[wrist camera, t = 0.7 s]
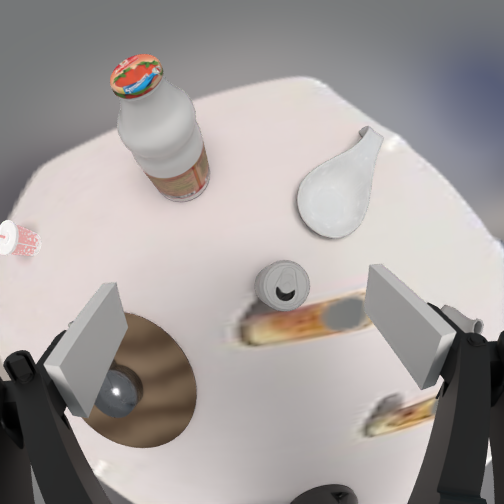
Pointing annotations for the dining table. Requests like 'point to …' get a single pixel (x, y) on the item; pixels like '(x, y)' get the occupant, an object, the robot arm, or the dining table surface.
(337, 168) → the spoon rest
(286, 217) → the dining table surface
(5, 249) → the beverage cup
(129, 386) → the dial
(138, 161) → the fruit juice
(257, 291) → the beverage can
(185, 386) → the dial board
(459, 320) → the flask
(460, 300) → the dining table surface
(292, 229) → the dining table surface
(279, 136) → the dining table surface
